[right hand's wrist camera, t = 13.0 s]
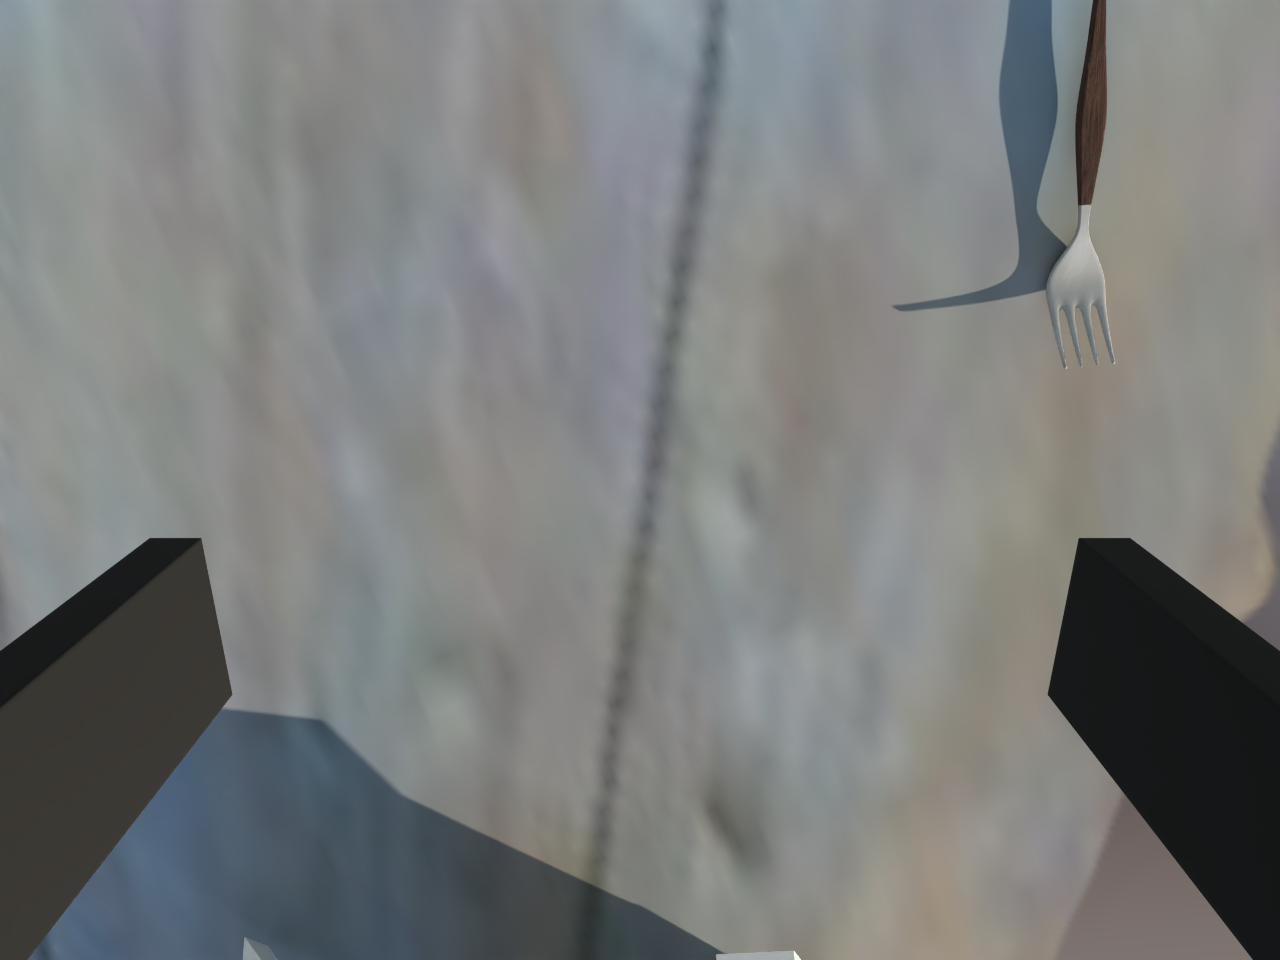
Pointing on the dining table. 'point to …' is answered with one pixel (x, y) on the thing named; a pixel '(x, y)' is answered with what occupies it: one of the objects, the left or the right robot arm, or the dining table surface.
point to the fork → (1084, 202)
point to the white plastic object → (260, 956)
